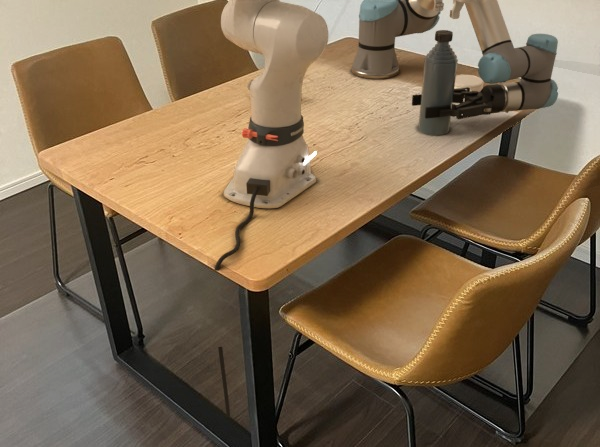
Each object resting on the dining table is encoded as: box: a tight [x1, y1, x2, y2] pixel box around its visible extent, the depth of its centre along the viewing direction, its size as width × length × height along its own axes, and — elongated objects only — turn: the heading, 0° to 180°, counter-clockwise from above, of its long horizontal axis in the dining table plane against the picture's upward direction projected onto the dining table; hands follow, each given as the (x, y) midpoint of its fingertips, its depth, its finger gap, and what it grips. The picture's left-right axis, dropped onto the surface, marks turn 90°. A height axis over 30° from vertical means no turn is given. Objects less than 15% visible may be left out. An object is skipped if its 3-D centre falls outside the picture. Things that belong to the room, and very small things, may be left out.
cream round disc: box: [454, 74, 485, 92], centre depth 187 cm, size 10×10×4 cm
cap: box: [434, 29, 454, 43], centre depth 152 cm, size 4×4×2 cm
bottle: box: [417, 41, 459, 136], centre depth 158 cm, size 8×8×25 cm
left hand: (446, 14), depth 149 cm, fingers open, 6 cm apart
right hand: (419, 106), depth 160 cm, fingers closed on bottle, 8 cm apart
